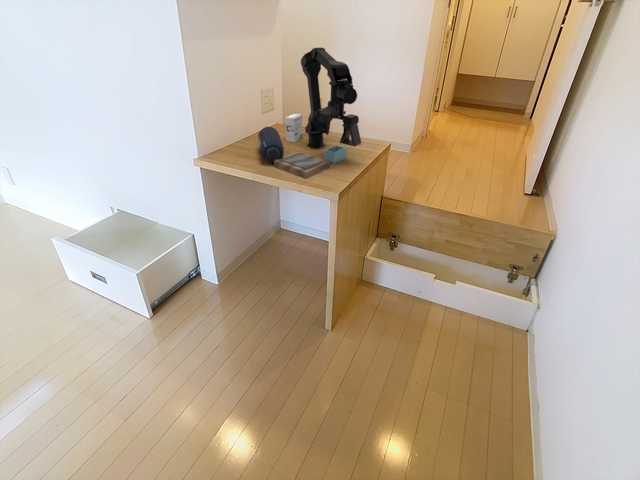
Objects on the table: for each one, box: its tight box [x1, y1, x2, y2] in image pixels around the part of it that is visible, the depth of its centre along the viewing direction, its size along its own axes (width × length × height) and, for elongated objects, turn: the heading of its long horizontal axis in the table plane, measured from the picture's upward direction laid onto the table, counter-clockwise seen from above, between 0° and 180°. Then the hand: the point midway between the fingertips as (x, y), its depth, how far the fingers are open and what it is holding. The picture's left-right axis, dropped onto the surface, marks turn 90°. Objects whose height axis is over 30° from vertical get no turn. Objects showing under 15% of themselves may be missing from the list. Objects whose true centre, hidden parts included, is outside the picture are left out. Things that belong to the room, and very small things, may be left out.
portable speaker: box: [257, 126, 285, 163], centre depth 157 cm, size 25×10×10 cm, turn 12°
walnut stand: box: [273, 151, 331, 179], centre depth 149 cm, size 18×15×3 cm
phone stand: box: [339, 123, 362, 147], centre depth 173 cm, size 9×6×12 cm, turn 55°
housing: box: [322, 144, 348, 165], centre depth 156 cm, size 6×10×5 cm, turn 140°
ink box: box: [285, 113, 303, 143], centre depth 176 cm, size 8×5×12 cm, turn 153°
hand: (335, 136), depth 151 cm, fingers open, 9 cm apart
